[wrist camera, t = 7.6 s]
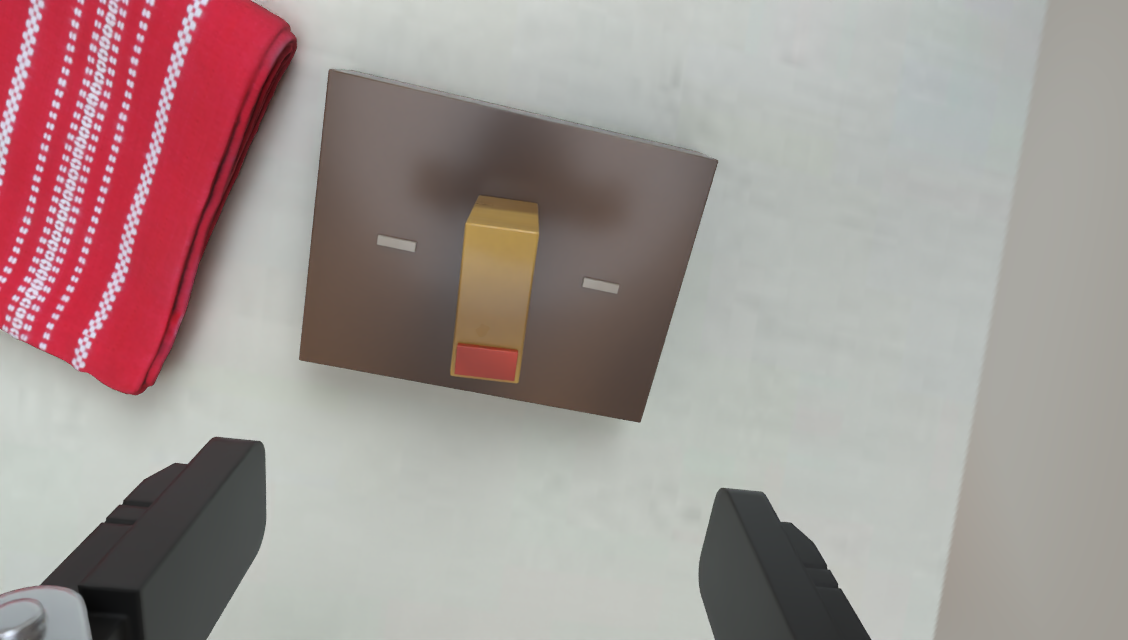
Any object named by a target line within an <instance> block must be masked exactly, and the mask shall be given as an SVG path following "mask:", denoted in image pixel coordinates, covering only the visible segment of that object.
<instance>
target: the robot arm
mask: <svg viewBox="0 0 1128 640" xmlns="http://www.w3.org/2000/svg"><path fill="white" fill-rule="evenodd" d="M265 525H266V470H265V448H264V445H263V443H262V442H261V441H253V440H243V439H233V438H223V437H214V438H212V439H211V440H210V441H209V442H208V443H207V444H206V445H205V446H204V447H203V448H202V449H201V450H200V451H199V452H198V454H197V455H196V456H195V457H194V458H193V459H192V460H191V461H190V462H189V463H188V464H180V463H174V464H172V465H170V466H168V467H166V468H165V469H163V470H161V471H159V472H157V473H155V474H153V475H152V476H150V477H148V478H146V479H144V480H143V481H142V482H141V483H140V484H139V485H138V486H137V487H136V488H135V489H134V490H133V491H132V492H131V493H130V494H129V495H128V496H127V497H126V498H125V499H124V500H123V504H122V505H119V506H118V507H117V508H116V509H115V510H114V511H113V512H112V513H111V514H110V515H109V516H108V517H107V518H106V521H105V523H101V524H100V525H99V526H98V527H97V528H96V529H95V530H94V531H93V532H92V533H91V534H90V535H89V536H88V537H87V538H86V539H85V540H84V541H83V542H82V543H81V544H80V545H79V546H78V547H77V548H76V549H75V550H74V551H73V552H72V553H71V554H70V555H69V556H68V557H67V558H66V559H65V560H64V561H63V562H62V563H61V564H60V565H59V566H58V567H57V568H56V569H55V570H54V571H53V572H52V573H51V574H50V575H49V576H48V577H47V578H46V579H45V580H44V581H43V583H42V584H41V585H40V586H32V587H26V588H21V589H17V590H13V591H10V592H7V593H4V594H1V595H0V640H206V639H207V638H208V636H209V634H210V633H211V631H212V629H213V627H214V626H215V624H216V622H217V621H218V619H219V617H220V616H221V614H222V612H223V611H224V609H225V607H226V606H227V604H228V602H229V601H230V599H231V597H232V595H233V594H234V592H235V590H236V589H237V587H238V585H239V584H240V582H241V580H242V579H243V577H244V575H245V574H246V572H247V570H248V569H249V567H250V565H251V564H252V562H253V560H254V558H255V557H256V555H257V553H258V551H259V548H260V546H261V543H262V540H263V536H264V531H265ZM699 587H700V593H701V597H702V600H703V603H704V606H705V609H706V612H707V616H708V619H709V622H710V625H711V628H712V632H713V635H714V638H715V640H871V638H870V637H869V635H868V633H867V632H866V630H865V628H864V627H863V625H862V623H861V622H860V620H859V618H858V617H857V615H856V613H855V612H854V610H853V608H852V606H851V605H850V603H849V601H848V600H847V598H846V596H845V595H844V593H843V591H842V590H841V589H838V583H837V581H836V579H835V578H834V576H833V574H832V573H831V571H830V570H827V564H826V563H825V561H824V559H823V558H822V556H821V554H820V552H819V551H818V549H817V547H816V546H815V544H814V543H813V542H812V541H811V540H810V539H809V538H808V537H807V536H805V535H804V534H803V533H802V532H801V531H800V530H799V529H798V528H797V527H795V526H794V525H793V524H792V523H788V522H780V520H779V518H778V516H777V515H776V513H775V511H774V509H773V507H772V505H771V504H770V502H769V500H768V498H767V496H766V495H765V494H764V493H763V492H759V491H749V490H739V489H729V488H721V489H719V491H718V492H717V494H716V497H715V500H714V504H713V508H712V512H711V516H710V520H709V524H708V528H707V532H706V536H705V540H704V544H703V548H702V552H701V556H700V562H699Z"/></svg>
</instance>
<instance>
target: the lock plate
mask: <svg viewBox="0 0 1128 640" xmlns="http://www.w3.org/2000/svg"><path fill="white" fill-rule="evenodd" d="M717 164H718V160H716V159H714V158H712V157H709V156H707V155H705V154H702V153H700V152H697V151H693V150H689V149H684V148H680V147H676V146H672V145H667V144H663V143H659V142H655V141H650V140H646V139H642V138H638V137H633V136H629V135H625V134H621V133H616V132H612V131H608V130H604V129H599V128H595V127H591V126H587V125H582V124H578V123H574V122H570V121H565V120H561V119H557V118H553V117H548V116H544V115H540V114H536V113H531V112H527V111H523V110H519V109H514V108H510V107H506V106H502V105H497V104H493V103H489V102H485V101H480V100H476V99H472V98H468V97H463V96H459V95H455V94H451V93H446V92H442V91H438V90H434V89H429V88H425V87H421V86H417V85H412V84H408V83H404V82H400V81H395V80H391V79H387V78H383V77H378V76H374V75H370V74H366V73H361V72H357V71H353V70H337V69H329V73H328V82H327V92H326V102H325V112H324V121H323V131H322V141H321V151H320V160H319V170H318V180H317V189H316V199H315V209H314V219H313V228H312V238H311V248H310V258H309V267H308V277H307V287H306V296H305V306H304V316H303V326H302V335H301V345H300V355H299V360H302V361H307V362H313V363H318V364H324V365H329V366H335V367H340V368H345V369H351V370H356V371H362V372H367V373H373V374H378V375H384V376H389V377H394V378H400V379H405V380H411V381H416V382H422V383H427V384H433V385H438V386H443V387H449V388H454V389H460V390H465V391H471V392H476V393H482V394H487V395H492V396H498V397H503V398H509V399H514V400H520V401H525V402H530V403H536V404H541V405H547V406H552V407H558V408H563V409H569V410H574V411H579V412H585V413H590V414H596V415H601V416H607V417H612V418H618V419H623V420H628V421H634V422H641V419H642V416H643V412H644V409H645V406H646V402H647V399H648V396H649V392H650V389H651V386H652V382H653V379H654V375H655V372H656V369H657V365H658V362H659V359H660V355H661V352H662V349H663V345H664V342H665V338H666V335H667V332H668V328H669V325H670V322H671V318H672V315H673V312H674V308H675V305H676V302H677V298H678V295H679V291H680V288H681V285H682V281H683V278H684V275H685V271H686V268H687V265H688V261H689V258H690V254H691V251H692V248H693V244H694V241H695V238H696V234H697V231H698V228H699V224H700V221H701V218H702V214H703V211H704V207H705V204H706V201H707V197H708V194H709V191H710V187H711V184H712V181H713V177H714V174H715V170H716V167H717ZM479 195H482V196H489V197H496V198H503V199H510V200H517V201H524V202H531V203H537V204H538V216H539V239H538V247H537V254H536V261H535V268H534V275H533V283H532V290H531V297H530V304H529V311H528V318H527V326H526V333H525V340H524V347H523V354H522V362H521V369H520V376H519V382H518V383H508V382H499V381H491V380H482V379H474V378H465V377H457V376H451V375H450V369H451V359H452V349H453V339H454V329H455V319H456V309H457V299H458V289H459V279H460V270H461V260H462V250H463V240H464V230H465V223H466V221H467V219H468V217H469V215H470V213H471V211H472V209H473V207H474V204H475V202H476V200H477V198H478V196H479Z"/></svg>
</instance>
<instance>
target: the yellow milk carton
mask: <svg viewBox="0 0 1128 640" xmlns="http://www.w3.org/2000/svg"><path fill="white" fill-rule="evenodd" d="M538 239H539V216H538V204H537V203H531V202H524V201H517V200H510V199H503V198H496V197H489V196H482V195H479V196H478V198H477V200H476V202H475V204H474V207H473V209H472V211H471V213H470V215H469V217H468V219H467V221H466V223H465V230H464V240H463V250H462V260H461V270H460V279H459V289H458V299H457V309H456V319H455V329H454V339H453V349H452V359H451V369H450V375H451V376H457V377H465V378H474V379H482V380H491V381H499V382H508V383H518V382H519V376H520V369H521V362H522V354H523V347H524V340H525V333H526V326H527V318H528V311H529V304H530V297H531V290H532V283H533V275H534V268H535V261H536V254H537V247H538Z"/></svg>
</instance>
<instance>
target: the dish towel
mask: <svg viewBox="0 0 1128 640" xmlns="http://www.w3.org/2000/svg"><path fill="white" fill-rule="evenodd" d="M296 48H297V38H296V37H295V35H293V34H292V33H291V32H290V26H289V24H288V23H287V22H286V21H285V20H283V19H282V18H280V17H278V16H277V15H275V14H273V13H271V12H270V11H268V10H266V9H265V8H263V7H261V6H260V5H258V4H256V3H254V2H252V1H251V0H0V329H2V330H3V331H5V332H7V333H8V334H10V335H11V336H12V337H14V338H16V339H18V340H21V341H23V342H25V343H28V344H30V345H32V346H34V347H36V348H38V349H40V350H42V351H45V352H47V353H49V354H51V355H53V356H56V357H58V358H60V359H62V360H64V361H66V362H67V363H69V364H70V365H72V366H73V367H74V368H75V369H76V370H78V371H80V372H87V373H89V374H91V375H92V376H94V377H95V378H96V379H98V380H99V381H100V382H102V383H103V384H105V385H106V386H108V387H110V388H112V389H114V390H117V391H120V392H122V393H125V394H132V395H138V394H141V393H142V392H144V391H145V390H146V389H147V388H148V387H149V386H152V385H154V383H155V381H156V379H157V377H158V375H159V373H160V371H161V368H162V365H163V363H164V361H165V359H166V358H167V356H168V354H169V352H170V350H171V349H172V346H173V343H174V341H175V338H176V335H177V332H178V330H179V327H180V324H181V321H182V319H183V317H184V315H185V312H186V309H187V306H188V302H189V299H190V295H191V292H192V288H193V284H194V280H195V276H196V272H197V269H198V265H199V262H200V260H201V258H202V256H203V253H204V251H205V248H206V245H207V243H208V241H209V238H210V236H211V233H212V231H213V229H214V227H215V225H216V222H217V220H218V218H219V216H220V214H221V211H222V208H223V206H224V204H225V201H226V199H227V197H228V195H229V192H230V190H231V188H232V186H233V184H234V182H235V180H236V178H237V176H238V174H239V171H240V169H241V166H242V164H243V161H244V159H245V156H246V154H247V151H248V149H249V147H250V144H251V142H252V140H253V138H254V136H255V134H256V133H257V131H258V127H259V124H260V122H261V120H262V118H263V116H264V113H265V111H266V109H267V106H268V104H269V102H270V100H271V98H272V96H273V94H274V92H275V90H276V87H277V84H278V83H279V81H280V79H281V77H282V75H283V74H284V72H285V70H286V69H287V67H288V66H289V64H290V62H291V60H292V58H293V56H294V53H295V51H296Z"/></svg>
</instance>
